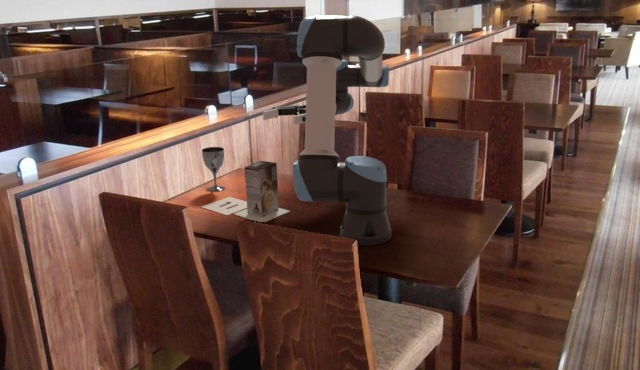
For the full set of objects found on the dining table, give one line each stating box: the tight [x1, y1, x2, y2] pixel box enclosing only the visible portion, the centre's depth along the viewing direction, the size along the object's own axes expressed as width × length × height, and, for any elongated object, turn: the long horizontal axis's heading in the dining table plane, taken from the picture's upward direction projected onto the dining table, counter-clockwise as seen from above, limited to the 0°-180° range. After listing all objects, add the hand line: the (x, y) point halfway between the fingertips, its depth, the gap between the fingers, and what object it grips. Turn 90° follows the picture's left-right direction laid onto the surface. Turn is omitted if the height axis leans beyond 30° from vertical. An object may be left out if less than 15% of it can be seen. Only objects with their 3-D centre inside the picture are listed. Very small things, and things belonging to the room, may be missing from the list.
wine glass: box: [201, 146, 226, 193], centre depth 218 cm, size 8×8×15 cm
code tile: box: [201, 196, 247, 216], centre depth 202 cm, size 13×13×1 cm
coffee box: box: [244, 160, 280, 217], centre depth 193 cm, size 9×6×16 cm
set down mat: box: [233, 207, 291, 223], centre depth 195 cm, size 13×13×1 cm
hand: (278, 118), depth 193 cm, fingers open, 13 cm apart
